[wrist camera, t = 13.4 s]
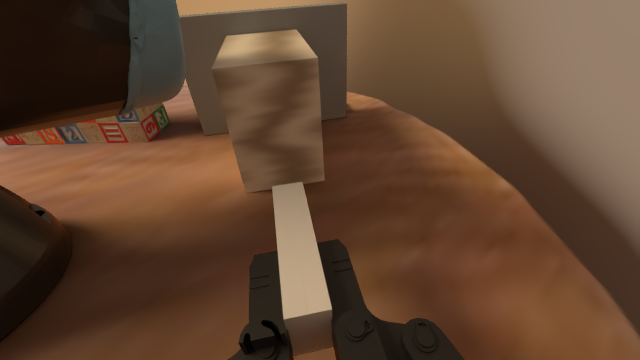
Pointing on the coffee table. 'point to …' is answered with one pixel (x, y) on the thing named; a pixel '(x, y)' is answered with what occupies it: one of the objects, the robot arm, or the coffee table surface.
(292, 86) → the ash block
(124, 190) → the coffee table surface
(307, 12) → the stop board
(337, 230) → the coffee table surface
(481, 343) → the coffee table surface
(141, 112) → the stack of blocks
